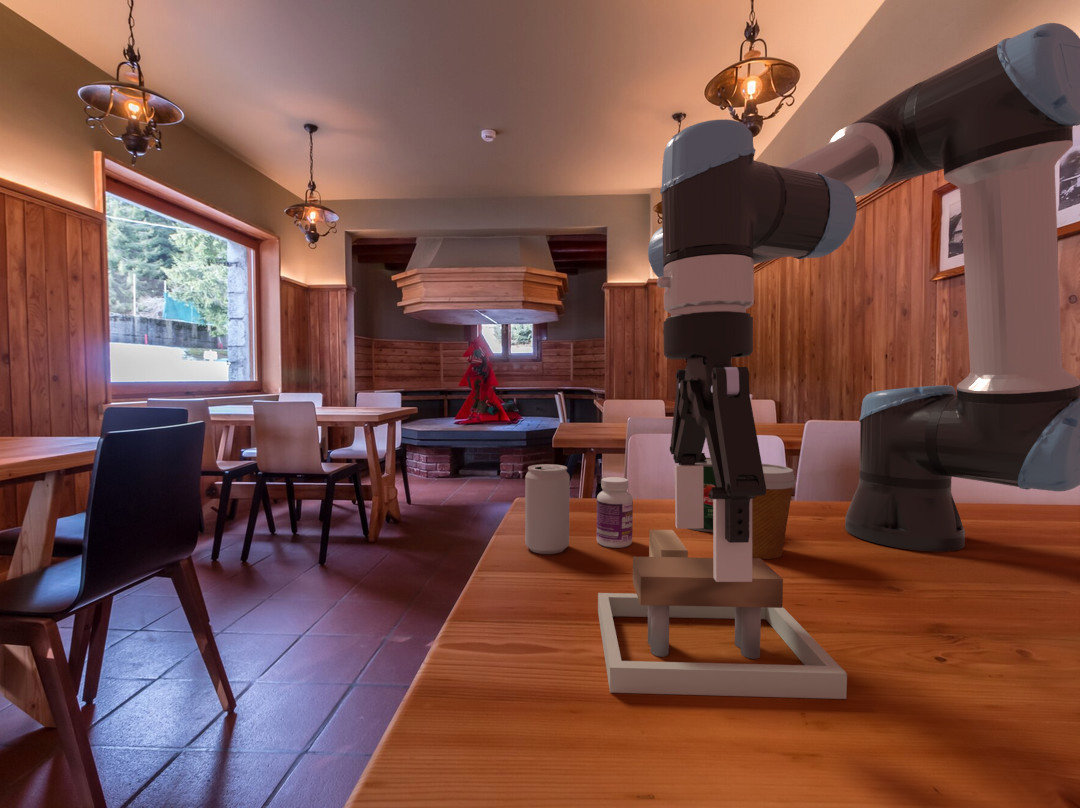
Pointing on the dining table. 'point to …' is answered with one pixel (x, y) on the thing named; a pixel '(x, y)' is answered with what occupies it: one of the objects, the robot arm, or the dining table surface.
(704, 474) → the canned tomato
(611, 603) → the peg frame
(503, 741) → the dining table surface
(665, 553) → the stand block
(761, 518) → the disposable coffee cup
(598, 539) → the pill bottle
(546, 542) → the beverage can
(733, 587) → the board
